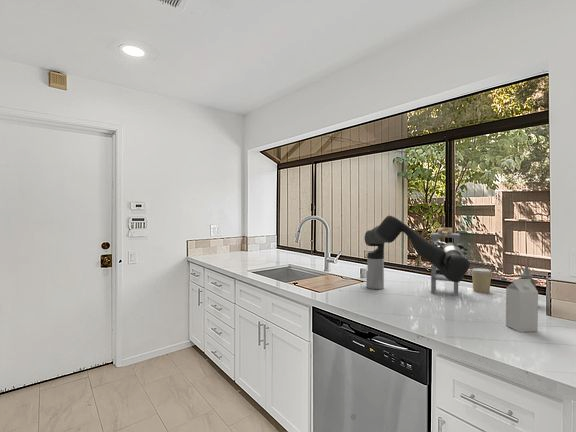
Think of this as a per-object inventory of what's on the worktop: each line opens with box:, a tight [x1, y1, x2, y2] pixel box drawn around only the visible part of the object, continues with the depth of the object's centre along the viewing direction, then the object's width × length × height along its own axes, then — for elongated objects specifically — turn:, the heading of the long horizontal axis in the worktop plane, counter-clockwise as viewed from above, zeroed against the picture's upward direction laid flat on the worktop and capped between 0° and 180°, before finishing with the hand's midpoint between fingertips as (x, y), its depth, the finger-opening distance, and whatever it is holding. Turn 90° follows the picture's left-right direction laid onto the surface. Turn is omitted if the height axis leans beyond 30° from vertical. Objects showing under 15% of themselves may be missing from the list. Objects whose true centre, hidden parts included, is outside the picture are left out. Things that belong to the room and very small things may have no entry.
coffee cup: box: [471, 267, 493, 294], centre depth 178 cm, size 9×9×12 cm
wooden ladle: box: [437, 227, 453, 236], centre depth 171 cm, size 7×19×3 cm, turn 153°
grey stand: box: [429, 232, 461, 297], centre depth 176 cm, size 14×10×32 cm
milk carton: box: [505, 278, 539, 333], centre depth 124 cm, size 7×7×19 cm
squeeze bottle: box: [518, 266, 537, 289], centre depth 154 cm, size 8×8×18 cm
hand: (448, 242), depth 156 cm, fingers open, 8 cm apart
